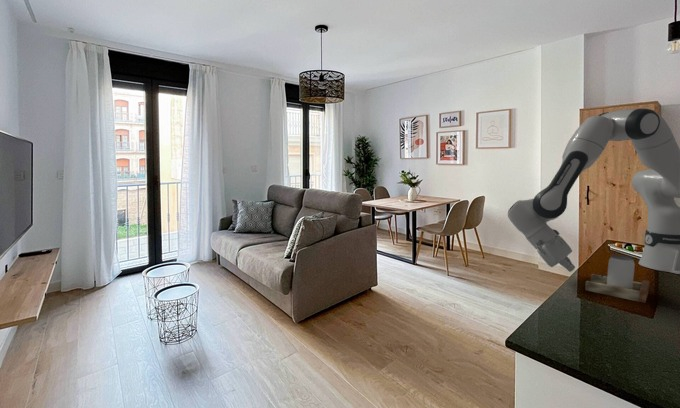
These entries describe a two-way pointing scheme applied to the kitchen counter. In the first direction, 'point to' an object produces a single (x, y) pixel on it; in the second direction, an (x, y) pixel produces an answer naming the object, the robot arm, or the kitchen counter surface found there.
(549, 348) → the kitchen counter surface
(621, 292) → the wooden rack
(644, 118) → the robot arm
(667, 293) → the kitchen counter surface
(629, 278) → the can
